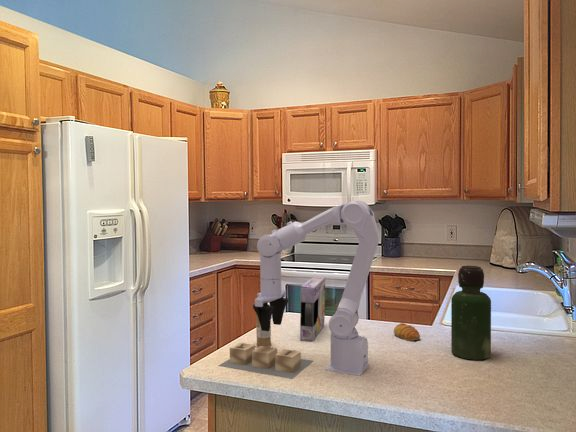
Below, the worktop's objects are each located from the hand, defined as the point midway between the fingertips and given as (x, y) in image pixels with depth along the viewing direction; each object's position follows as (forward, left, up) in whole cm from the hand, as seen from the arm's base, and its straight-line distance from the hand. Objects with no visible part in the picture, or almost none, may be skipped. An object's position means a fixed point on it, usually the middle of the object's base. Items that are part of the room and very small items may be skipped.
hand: (271, 327), depth 128 cm
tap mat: (0, +3, -9) cm, 10 cm away
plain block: (0, +4, -9) cm, 10 cm away
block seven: (+7, +4, -9) cm, 12 cm away
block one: (-7, +4, -9) cm, 12 cm away
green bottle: (-49, -28, -10) cm, 57 cm away
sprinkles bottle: (+8, -10, -10) cm, 16 cm away
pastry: (-29, -38, -10) cm, 49 cm away
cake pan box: (0, -29, -10) cm, 31 cm away
